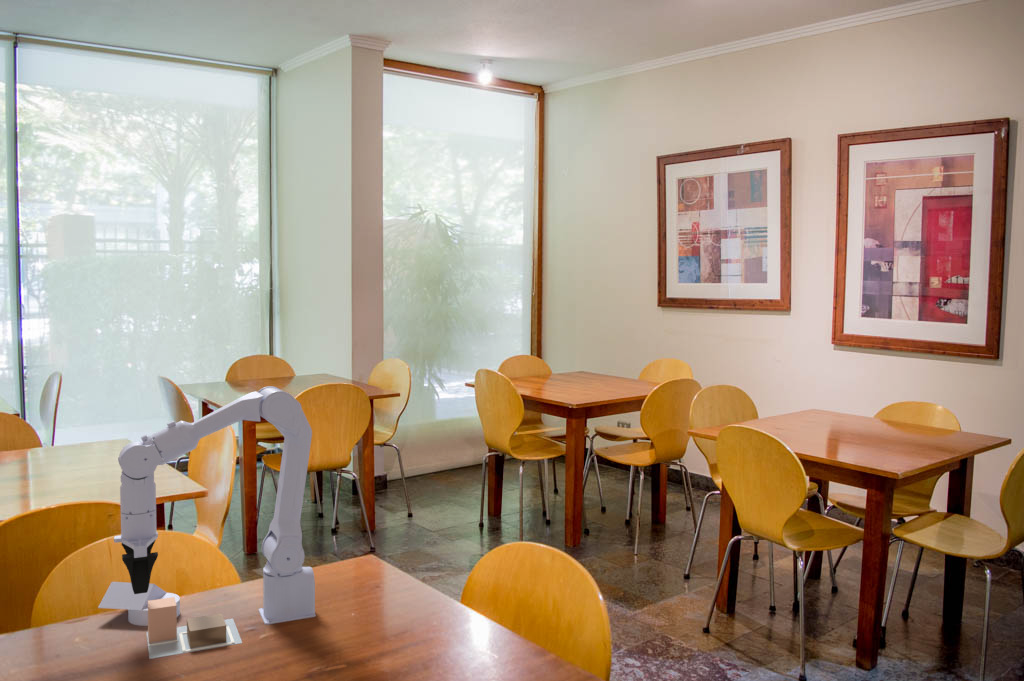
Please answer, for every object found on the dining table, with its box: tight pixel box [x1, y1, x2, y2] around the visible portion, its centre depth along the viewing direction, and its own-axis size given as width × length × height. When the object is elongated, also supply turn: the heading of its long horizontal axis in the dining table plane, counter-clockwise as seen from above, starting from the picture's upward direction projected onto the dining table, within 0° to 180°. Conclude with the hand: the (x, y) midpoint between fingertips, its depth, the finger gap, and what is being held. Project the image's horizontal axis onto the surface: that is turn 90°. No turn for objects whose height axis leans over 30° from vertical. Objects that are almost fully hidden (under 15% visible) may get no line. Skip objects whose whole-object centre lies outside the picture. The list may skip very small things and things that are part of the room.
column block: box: [147, 597, 178, 643], centre depth 145 cm, size 4×4×6 cm
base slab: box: [186, 613, 226, 648], centre depth 145 cm, size 6×6×3 cm
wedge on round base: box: [97, 581, 181, 627], centre depth 155 cm, size 9×7×13 cm
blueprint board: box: [145, 618, 243, 660], centre depth 145 cm, size 15×12×1 cm
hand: (140, 585), depth 144 cm, fingers open, 7 cm apart
